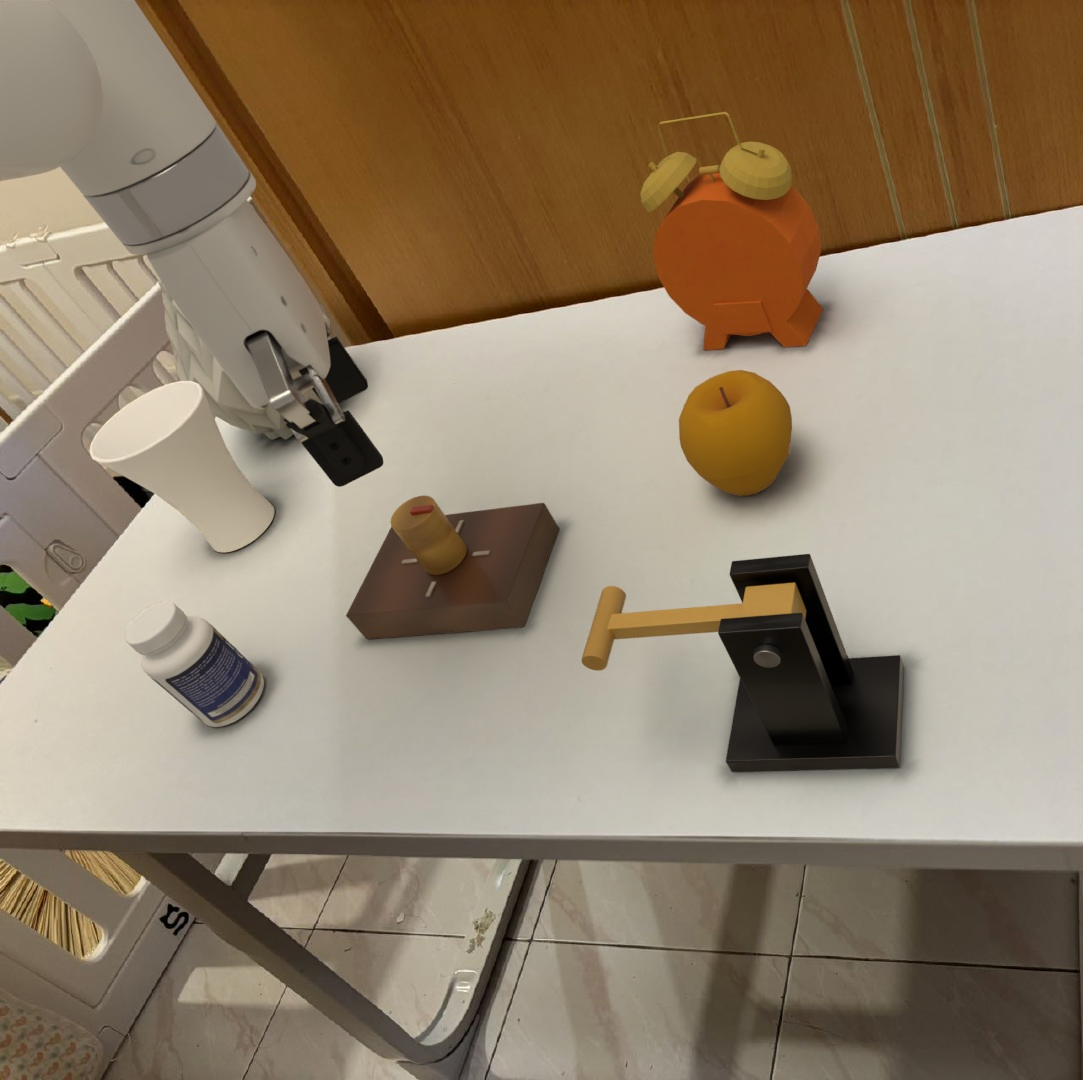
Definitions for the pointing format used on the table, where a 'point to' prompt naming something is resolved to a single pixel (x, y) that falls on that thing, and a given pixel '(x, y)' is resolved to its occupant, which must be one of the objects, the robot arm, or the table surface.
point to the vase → (221, 377)
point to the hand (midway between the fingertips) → (354, 433)
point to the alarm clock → (736, 244)
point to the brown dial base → (459, 578)
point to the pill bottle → (195, 664)
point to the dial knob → (429, 535)
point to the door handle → (678, 618)
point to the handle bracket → (806, 683)
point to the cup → (184, 463)
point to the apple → (736, 431)
